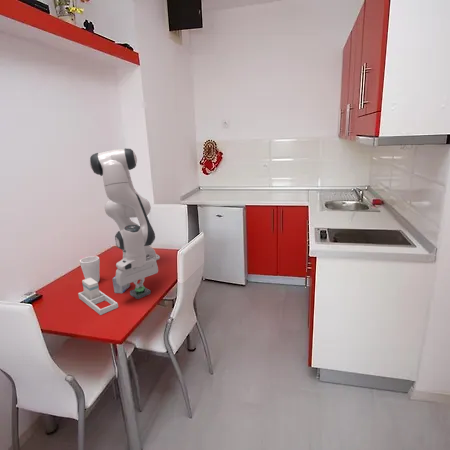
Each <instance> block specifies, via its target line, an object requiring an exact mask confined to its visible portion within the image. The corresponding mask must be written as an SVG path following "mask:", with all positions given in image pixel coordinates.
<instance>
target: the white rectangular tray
mask: <svg viewBox="0 0 450 450" xmlns="http://www.w3.org/2000/svg"><path fill="white" fill-rule="evenodd" d="M99 293H100V297H97V298H95V299H92V300H89V299H87V298H86V297H85V294H84V290H83V291H80V292H78V293H77V295H78V299H79V300H81V301H82V302H83V304H86V305H87V306H88V307H89V308H90V309H92V310H94V312H96V313H97V314H98V315H99V316H102V315H104V314H107V313H109V312H112V311H113V310H115V309H118V308H119V304H118V302H117V301H115V300H114V299H113V298H111V297H110V296H108V295H106V294H105V293H104V292H102V291H101V290H100V289H99ZM104 301H105V302H107V303H109V304H110V305H108V306H105V307H102V308H100V307H99V306H98V305H97V304H99V303H102V302H104Z"/></svg>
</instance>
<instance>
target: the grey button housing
mask: <svg viewBox="0 0 450 450" xmlns="http://www.w3.org/2000/svg"><path fill="white" fill-rule="evenodd" d="M151 294H152V292H151V290H150V289H149V288H148V287H145V290H144V291H142V292H140V293H139V292H136V291H135V288H134V289H131V290H129V295H130V296H131V297H133V298H134V299H137V300H139V299H141V298H144V297H147V296H148V295H151Z"/></svg>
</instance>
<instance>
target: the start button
mask: <svg viewBox="0 0 450 450" xmlns="http://www.w3.org/2000/svg"><path fill="white" fill-rule="evenodd" d="M145 288H146V287H145V286H144V285H143V287H141V288H139V289H137V288H136V286H135V287H134V289H135V291H136V292H139V293H140V292H142V291H144V290H145Z"/></svg>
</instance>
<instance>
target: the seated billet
mask: <svg viewBox="0 0 450 450" xmlns="http://www.w3.org/2000/svg"><path fill="white" fill-rule="evenodd" d="M81 280H82V281H81V283H82V287H83V291H84V294H85V297H86V298H87V299H89V300H92V299H95V298H97V297H100V293H99V290H100V289H99V288H100V287H99V282H97V281H95V280H94V279H92V278H88V279H85V278H84V279H81Z"/></svg>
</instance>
